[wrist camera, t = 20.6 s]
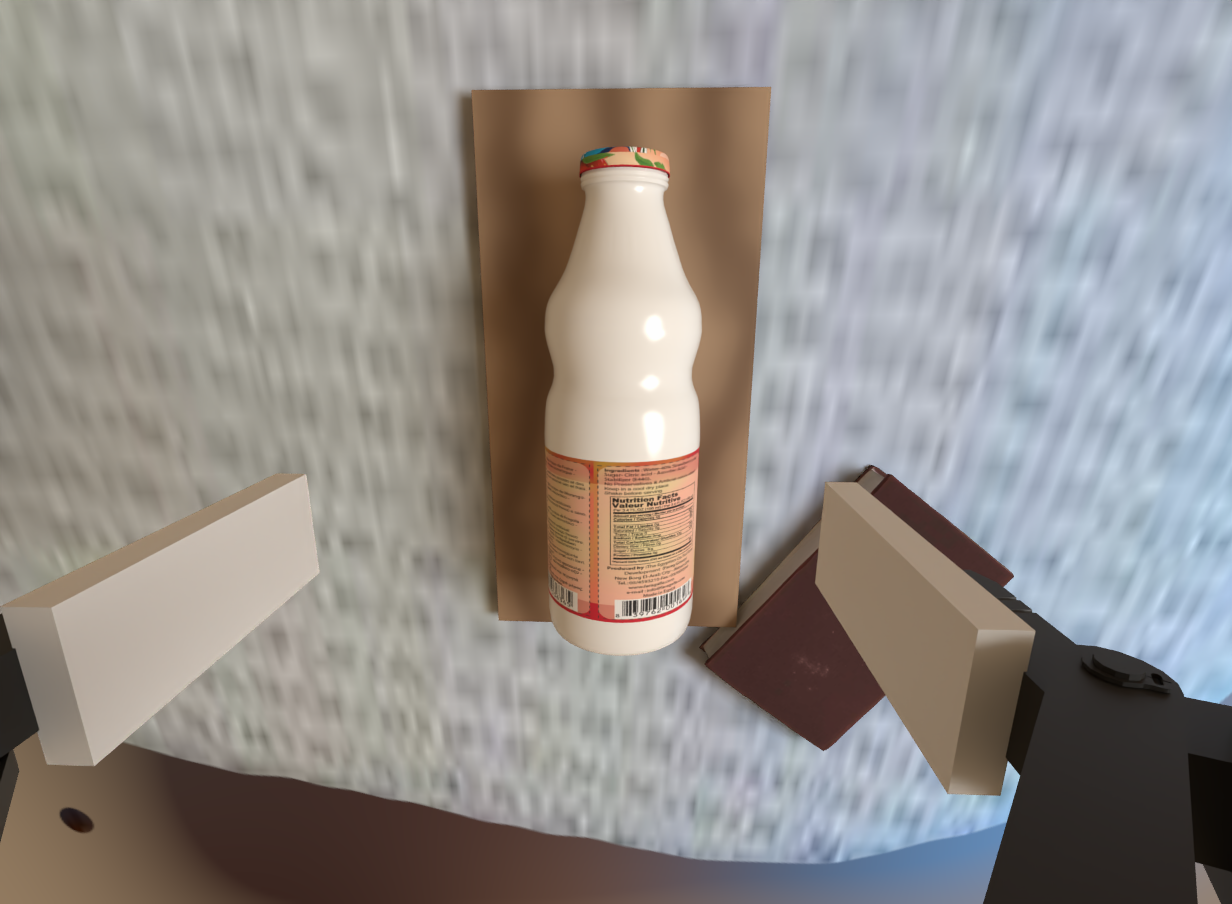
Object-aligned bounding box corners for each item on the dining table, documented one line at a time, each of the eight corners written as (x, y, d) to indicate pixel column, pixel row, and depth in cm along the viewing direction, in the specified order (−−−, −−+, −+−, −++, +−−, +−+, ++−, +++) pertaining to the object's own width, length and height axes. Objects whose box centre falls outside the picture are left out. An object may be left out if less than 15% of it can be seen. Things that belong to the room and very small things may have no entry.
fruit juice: (520, 636, 36) (501, 144, 29) (590, 574, 44) (588, 179, 37) (661, 677, 32) (677, 121, 25) (709, 602, 41) (732, 166, 34)
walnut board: (502, 612, 45) (498, 620, 44) (476, 96, 36) (471, 90, 35) (733, 618, 44) (736, 627, 43) (766, 94, 35) (771, 87, 34)
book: (995, 560, 43) (1023, 581, 40) (816, 729, 47) (828, 760, 44) (870, 459, 41) (889, 472, 38) (697, 643, 46) (701, 668, 43)
